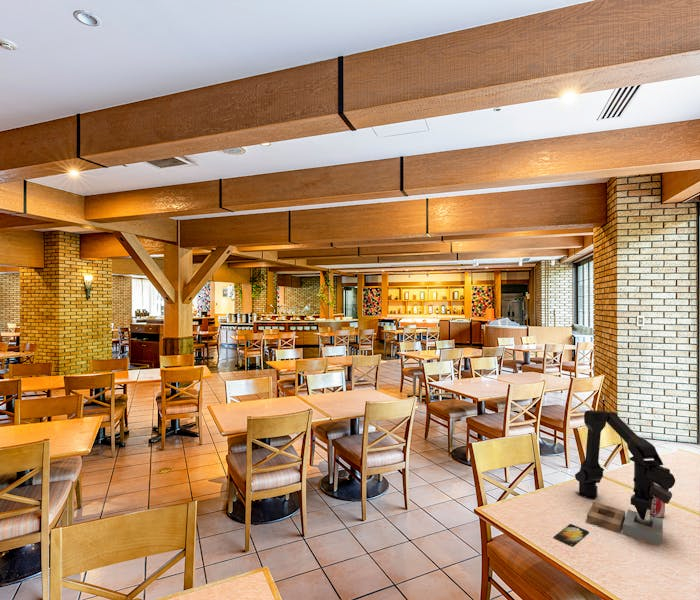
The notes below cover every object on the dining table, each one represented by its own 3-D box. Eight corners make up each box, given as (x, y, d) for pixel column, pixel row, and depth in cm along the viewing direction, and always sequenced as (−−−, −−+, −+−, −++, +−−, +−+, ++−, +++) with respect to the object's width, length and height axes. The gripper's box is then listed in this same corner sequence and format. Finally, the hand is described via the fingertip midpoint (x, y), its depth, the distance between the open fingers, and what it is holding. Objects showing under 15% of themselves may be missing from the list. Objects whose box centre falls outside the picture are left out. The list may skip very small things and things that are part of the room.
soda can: (668, 519, 158) (668, 490, 159) (649, 517, 160) (649, 488, 160) (658, 510, 165) (658, 482, 165) (639, 508, 167) (640, 480, 167)
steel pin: (636, 529, 150) (636, 505, 150) (637, 524, 153) (637, 501, 153) (649, 533, 147) (649, 509, 147) (650, 528, 150) (650, 505, 150)
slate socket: (623, 534, 148) (623, 523, 148) (628, 519, 159) (628, 509, 159) (660, 546, 141) (660, 535, 141) (662, 529, 151) (662, 519, 151)
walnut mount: (586, 522, 156) (586, 514, 156) (593, 508, 167) (593, 501, 167) (620, 533, 149) (620, 525, 149) (625, 518, 159) (625, 510, 159)
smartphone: (552, 537, 146) (570, 523, 155) (552, 539, 146) (570, 525, 155) (572, 547, 140) (590, 531, 149) (572, 548, 140) (590, 533, 149)
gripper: (669, 491, 138) (669, 536, 138) (671, 474, 152) (671, 515, 151) (630, 482, 145) (630, 524, 145) (636, 466, 159) (636, 505, 159)
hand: (643, 517), depth 150 cm, fingers closed on steel pin, 4 cm apart
